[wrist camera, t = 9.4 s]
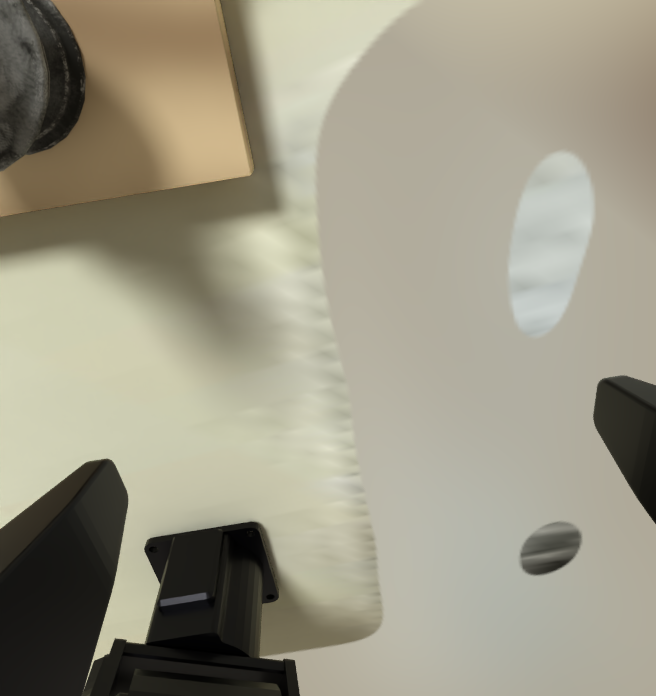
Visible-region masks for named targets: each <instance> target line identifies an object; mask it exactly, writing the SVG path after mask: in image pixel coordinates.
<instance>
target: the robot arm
mask: <svg viewBox="0 0 656 696" xmlns="http://www.w3.org/2000/svg"><path fill="white" fill-rule="evenodd" d="M593 417H594V424H595V427H596V429H597V431H598V433H599V434H600V436H601V438H602V439H603V441H604V443H605V445H606V446H607V448H608V450H609V451H610V453H611V455H612V457H613V458H614V460H615V462H616V463H617V465H618V467H619V469H620V470H621V472H622V474H623V475H624V477H625V479H626V481H627V482H628V484H629V486H630V487H631V489H632V490H633V492H634V494H635V495H636V497H637V498H638V500H639V501H640V503H641V504H642V506H643V507H644V509H645V510H646V511H647V513H648V514H649V516H650V517H651V518H652V520H653V521H654V522H655V524H656V385H653V384H650V383H647V382H644V381H641V380H638V379H634V378H631V377H628V376H615V377H609V378H604V379H602V380H600V382H599V383H598V386H597V392H596V399H595V406H594V414H593ZM127 508H128V494H127V490H126V488H125V486H124V484H123V481H122V479H121V477H120V475H119V473H118V470H117V468H116V466H115V464H114V463H113V461H112V460H110V459H101V460H95V461H89V462H86V463H85V464H83V465H82V466H81V467H79V468H78V469H77V470H76V471H74V472H73V473H72V474H70V475H69V476H68V477H67V478H65V479H64V480H63V481H61V482H60V483H59V484H58V485H56V486H55V487H54V488H52V489H51V490H50V491H49V492H47V493H46V494H45V495H43V496H42V497H41V498H40V499H38V500H37V501H36V502H34V503H33V504H32V505H31V506H29V507H28V508H27V509H25V510H24V511H23V512H22V513H20V514H19V515H18V516H16V517H15V518H14V519H13V520H11V521H10V522H9V523H7V524H6V525H5V526H4V527H2V528H1V529H0V696H300V694H299V687H298V680H297V673H296V666H295V660H290V659H284V660H283V661H280V660H272V659H263V658H259V651H260V632H261V614H262V604H263V603H270V602H274V601H276V600H277V599H278V598H279V589H278V586H277V582H276V579H275V576H274V572H273V569H272V566H271V562H270V559H269V556H268V552H267V549H266V545H265V542H264V539H263V535H262V532H261V529H260V526H259V525H258V524H257V523H255V522H247V523H240V524H234V525H228V526H222V527H216V528H210V529H203V530H197V531H191V532H185V533H179V534H172V535H166V536H160V537H154V538H150V539H148V540H147V542H146V545H145V548H144V550H145V553H146V555H147V557H148V559H149V561H150V563H151V566H152V568H153V570H154V572H155V574H156V576H157V578H158V581H159V583H160V588H159V592H158V595H157V599H156V603H155V607H154V611H153V614H152V618H151V622H150V626H149V629H148V633H147V637H146V641H145V644H139V643H131V642H126V641H127V640H124V639H116V638H115V640H114V643H113V646H112V648H111V651H110V654H107V655H105V656H104V657H103V658H100V659H98V660H95V661H94V663H93V666H92V669H91V672H90V674H89V677H88V680H87V676H88V673H89V669H90V666H91V662H92V659H93V656H94V652H95V649H96V645H97V642H98V638H99V635H100V631H101V628H102V624H103V621H104V617H105V614H106V610H107V607H108V603H109V600H110V596H111V593H112V589H113V585H114V581H115V576H116V571H117V566H118V560H119V554H120V548H121V542H122V537H123V531H124V525H125V519H126V514H127ZM250 531H252V532H250ZM86 680H87V683H86ZM85 683H86V686H85ZM84 687H85V689H84ZM83 690H84V692H83Z"/></svg>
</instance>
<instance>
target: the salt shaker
mask: <svg viewBox="0 0 656 696" xmlns="http://www.w3.org/2000/svg"><path fill="white" fill-rule="evenodd" d="M85 82H86V76H85V71H84V66H83V61H82V56H81V51H80V49H79V47H78V44H77V42H76V40H75V38H74V35H73V33H72V31H71V28H70V26H69V25H68V23H67V22H66V20H65V19H64V18H63V16H62V15H61V13H60V12H59V10H58V9H57V8H56V6H55V5H54V3H53V2H52V1H51V0H0V172H1V171H4V170H5V169H6V168H8V167H9V166H10V165H12V164H13V163H15V162H16V161H17V160H19V159H20V158H22V157H23V156H24V155H31V154H35V153H38V152H41V151H44V150H48V149H51V148H52V147H54V146H55V145H56V144H58V143H59V142H61V141H62V140H63V139H65V138H66V137H67V136H68V135H69V133H70V132H71V130H72V129H73V128H74V126H75V125H76V123H77V122H78V120H79V117H80V114H81V111H82V108H83V105H84V101H85Z"/></svg>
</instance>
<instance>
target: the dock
mask: <svg viewBox="0 0 656 696" xmlns="http://www.w3.org/2000/svg"><path fill="white" fill-rule="evenodd" d="M51 1H52V2H53V3H54V5H55V6H56V8H57V9H58V10H59V12H60V13H61V15H62V16H63V18H64V19H65V20H66V22H67V23H68V25H69V26H70V28H71V31H72V33H73V35H74V38H75V40H76V42H77V44H78V47H79V49H80V51H81V56H82V61H83V66H84V71H85V76H86V82H85V101H84V105H83V108H82V111H81V114H80V117H79V120H78V122H77V123H76V125H75V126H74V128H73V129H72V130H71V132H70V133H69V135H68V136H67V137H66V138H65V139H63V140H62V141H61V142H59V143H58V144H56V145H55V146H54V147H52V148H51V149H48V150H44V151H41V152H38V153H35V154H31V155H24V156H23V157H22V158H20V159H19V160H17V161H16V162H15V163H13V164H12V165H10V166H9V167H8V168H6V169H5V170H4V171H1V172H0V217H2V216H8V215H14V214H20V213H26V212H32V211H38V210H44V209H50V208H56V207H62V206H68V205H74V204H80V203H87V202H93V201H99V200H105V199H111V198H117V197H123V196H129V195H135V194H141V193H147V192H153V191H159V190H166V189H172V188H178V187H184V186H190V185H196V184H202V183H208V182H214V181H220V180H226V179H232V178H238V177H245V176H251V174H252V172H253V170H254V164H253V159H252V154H251V149H250V144H249V139H248V135H247V130H246V125H245V120H244V115H243V110H242V105H241V100H240V96H239V91H238V86H237V81H236V76H235V71H234V66H233V61H232V57H231V52H230V47H229V42H228V37H227V32H226V27H225V22H224V18H223V13H222V8H221V3H220V0H51Z"/></svg>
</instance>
